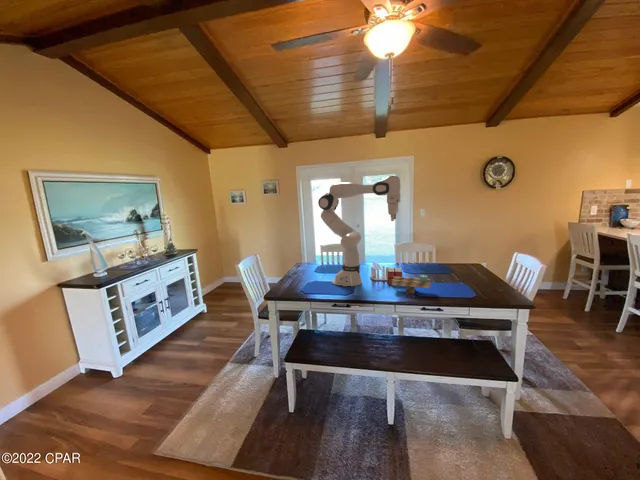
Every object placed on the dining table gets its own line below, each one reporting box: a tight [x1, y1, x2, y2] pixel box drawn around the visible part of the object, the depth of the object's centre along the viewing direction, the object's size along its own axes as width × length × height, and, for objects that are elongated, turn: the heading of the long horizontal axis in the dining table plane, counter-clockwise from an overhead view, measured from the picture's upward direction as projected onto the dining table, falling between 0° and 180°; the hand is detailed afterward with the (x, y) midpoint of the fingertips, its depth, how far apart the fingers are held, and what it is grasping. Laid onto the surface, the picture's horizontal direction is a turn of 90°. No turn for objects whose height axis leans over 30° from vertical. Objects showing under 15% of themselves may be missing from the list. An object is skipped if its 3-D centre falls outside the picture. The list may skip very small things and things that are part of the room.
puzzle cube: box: [386, 267, 403, 286], centre depth 203 cm, size 10×10×10 cm
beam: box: [391, 276, 431, 295], centre depth 183 cm, size 24×9×9 cm, turn 67°
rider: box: [419, 274, 428, 282], centre depth 179 cm, size 4×5×5 cm
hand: (393, 220), depth 187 cm, fingers open, 8 cm apart
